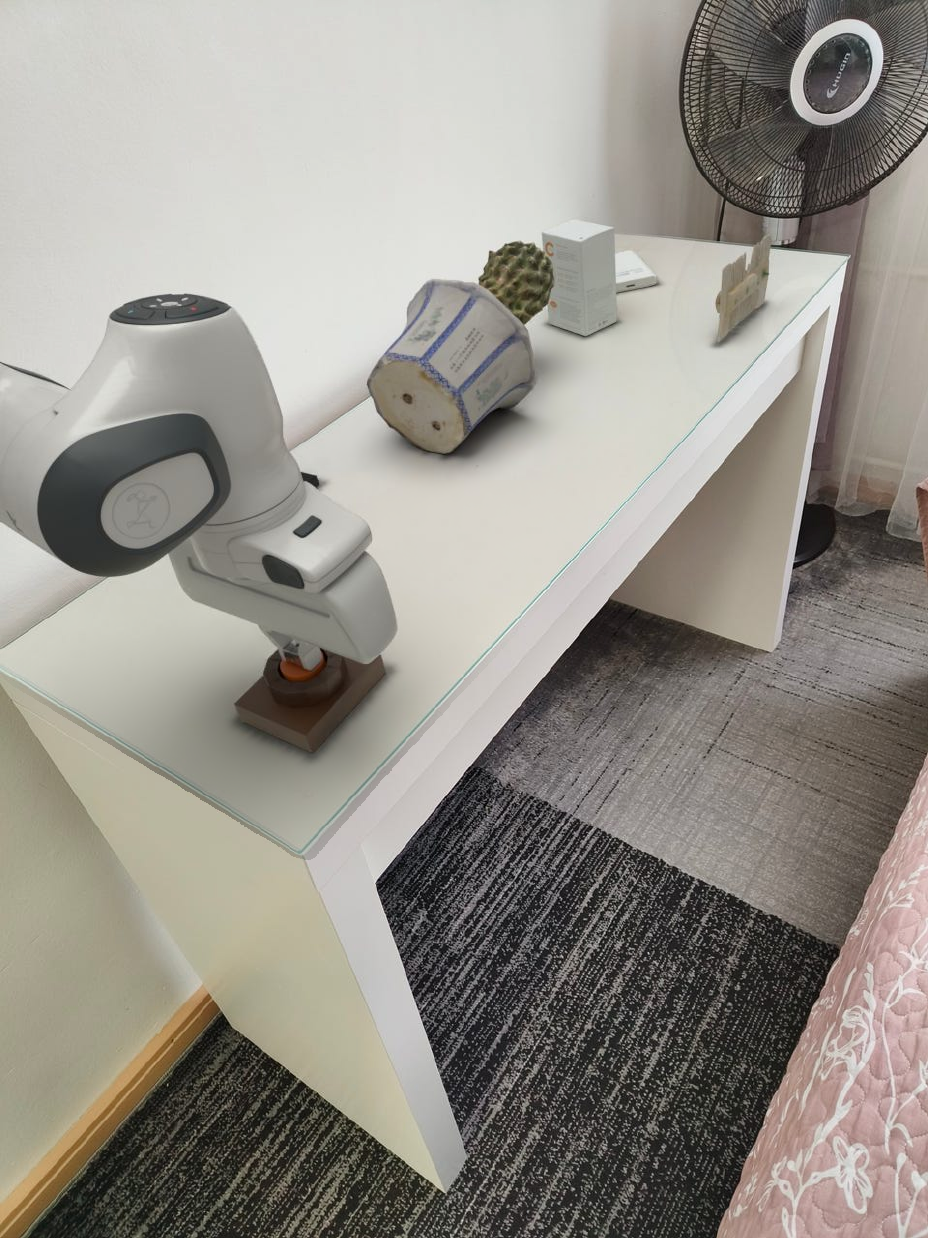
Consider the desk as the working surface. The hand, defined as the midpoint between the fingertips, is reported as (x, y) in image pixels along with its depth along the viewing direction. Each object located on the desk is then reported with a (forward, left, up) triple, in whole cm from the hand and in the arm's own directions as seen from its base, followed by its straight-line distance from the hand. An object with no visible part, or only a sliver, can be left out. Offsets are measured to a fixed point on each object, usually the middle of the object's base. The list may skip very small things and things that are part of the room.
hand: (303, 660), depth 69 cm
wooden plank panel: (+67, +45, -4) cm, 81 cm away
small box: (+50, +58, -4) cm, 77 cm away
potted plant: (+30, +42, -4) cm, 52 cm away
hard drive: (+62, +71, -4) cm, 94 cm away
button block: (0, 0, -4) cm, 4 cm away
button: (0, 0, -2) cm, 2 cm away
